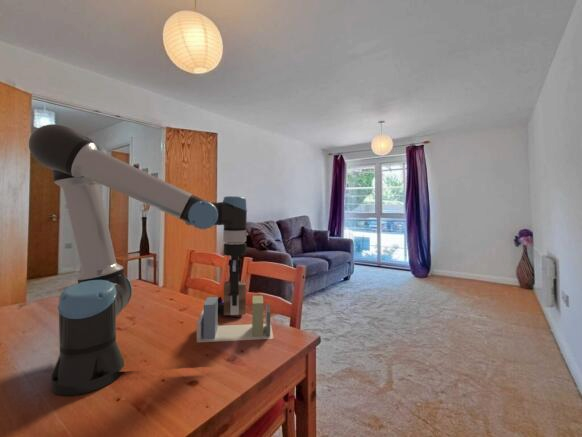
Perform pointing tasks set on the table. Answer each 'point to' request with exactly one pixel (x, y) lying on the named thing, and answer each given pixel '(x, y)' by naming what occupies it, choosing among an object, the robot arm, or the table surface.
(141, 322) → the table surface
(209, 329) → the book
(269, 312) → the bookend
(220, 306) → the character figurine
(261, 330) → the book
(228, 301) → the book
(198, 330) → the white book rack
